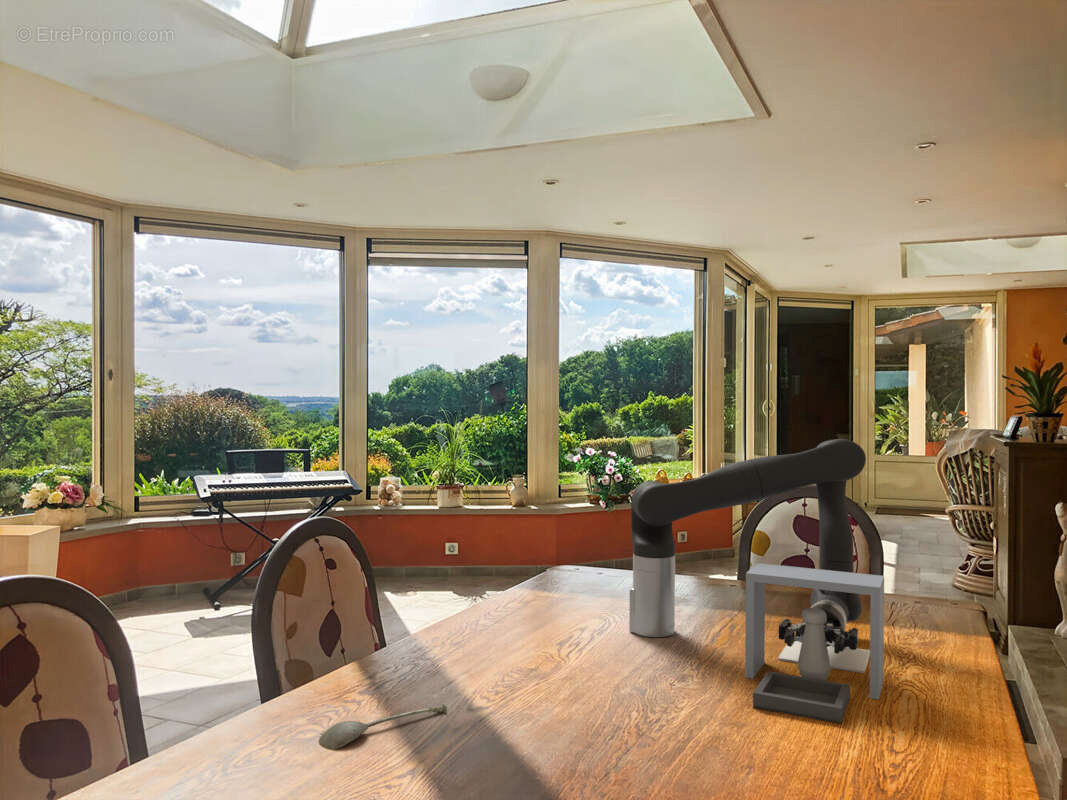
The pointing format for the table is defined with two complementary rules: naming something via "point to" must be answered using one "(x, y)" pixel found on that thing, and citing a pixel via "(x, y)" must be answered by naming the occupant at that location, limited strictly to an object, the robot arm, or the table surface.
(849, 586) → the gate
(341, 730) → the soupspoon
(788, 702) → the pit box
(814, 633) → the salt shaker
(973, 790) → the table surface
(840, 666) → the pad
